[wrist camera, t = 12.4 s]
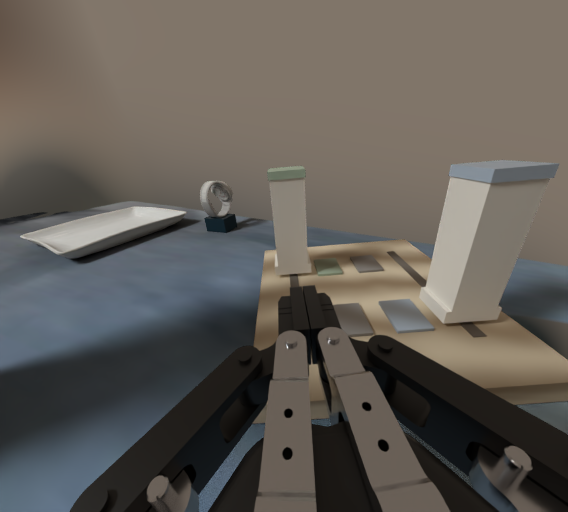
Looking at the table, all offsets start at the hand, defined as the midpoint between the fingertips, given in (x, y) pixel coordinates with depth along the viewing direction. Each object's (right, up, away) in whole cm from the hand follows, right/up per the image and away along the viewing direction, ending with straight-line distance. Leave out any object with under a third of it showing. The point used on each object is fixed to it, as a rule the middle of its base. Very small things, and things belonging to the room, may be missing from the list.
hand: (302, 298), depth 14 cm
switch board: (+7, -3, +13) cm, 15 cm away
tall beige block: (0, +1, +16) cm, 16 cm away
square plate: (-44, +8, +45) cm, 63 cm away
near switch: (+14, -2, +7) cm, 16 cm away
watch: (-16, +9, +41) cm, 45 cm away
